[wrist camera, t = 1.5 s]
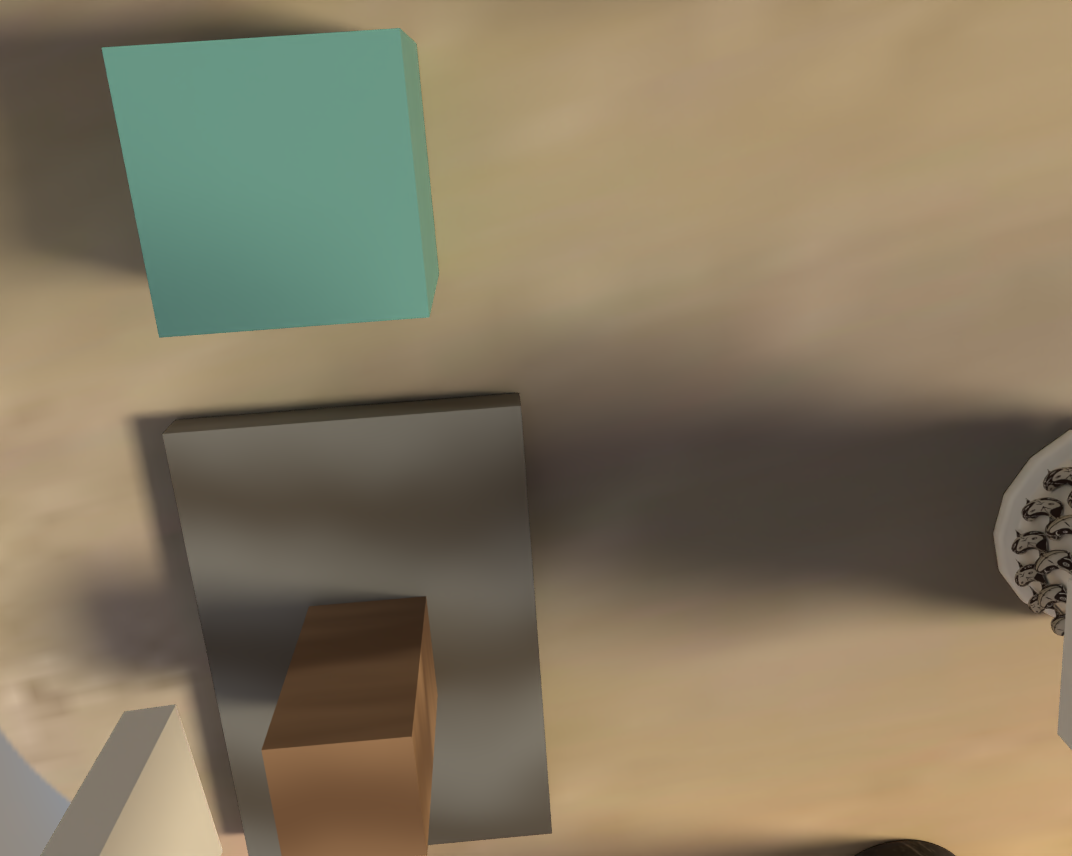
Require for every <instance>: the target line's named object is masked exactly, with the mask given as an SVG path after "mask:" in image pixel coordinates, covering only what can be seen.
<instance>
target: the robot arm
mask: <svg viewBox="0 0 1072 856" xmlns="http://www.w3.org/2000/svg"><path fill="white" fill-rule="evenodd" d="M1058 735H1059V736H1060V737H1061V738H1062V740H1063V741H1064V742H1065V743H1066V744H1067V745H1068V747H1069V748H1070V749H1071V750H1072V578H1069V579H1068V586H1067V600H1066V615H1065V630H1064V645H1063V660H1062V674H1061V689H1060V704H1059V719H1058ZM222 851H223V850H222V847H221V844H220V841H219V837H218V834H217V831H216V828H215V825H214V822H213V819H212V816H211V812H210V809H209V806H208V803H207V800H206V797H205V794H204V791H203V787H202V784H201V781H200V778H199V775H198V772H197V769H196V765H195V762H194V759H193V756H192V753H191V750H190V747H189V744H188V740H187V737H186V734H185V731H184V728H183V725H182V722H181V719H180V715H179V712H178V709H177V706H176V704H175V705H168V706H161V707H154V708H147V709H140V710H133V711H125V712H124V713H123V715H122V716H121V718H120V720H119V721H118V723H117V725H116V727H115V728H114V730H113V732H112V733H111V735H110V737H109V739H108V740H107V742H106V744H105V746H104V747H103V749H102V751H101V752H100V754H99V756H98V758H97V759H96V761H95V763H94V764H93V766H92V768H91V770H90V771H89V773H88V775H87V776H86V778H85V780H84V782H83V783H82V785H81V787H80V788H79V790H78V792H77V794H76V795H75V797H74V799H73V800H72V802H71V804H70V806H69V808H68V809H67V811H66V812H65V814H64V816H63V818H62V819H61V821H60V823H59V825H58V826H57V828H56V830H55V831H54V833H53V835H52V837H51V838H50V840H49V842H48V844H47V845H46V847H45V849H44V850H43V852H42V854H41V855H40V856H221V854H222Z"/></svg>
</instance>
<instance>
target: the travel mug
mask: <svg viewBox="0 0 1072 856" xmlns="http://www.w3.org/2000/svg"><path fill="white" fill-rule="evenodd" d="M855 856H955V855H954V854H953V853H951V852H950V851H948V850H946V849H945V848H943V847H940V846H938V845H935V844H932V843H928V842H922V841H910V840H905V841H894V842H889V843H884V844H881V845H878V846H874V847H872V848H870V849H867V850H865V851H863V852H861V853H859V854H857V855H855Z"/></svg>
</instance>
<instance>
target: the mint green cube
mask: <svg viewBox="0 0 1072 856" xmlns="http://www.w3.org/2000/svg"><path fill="white" fill-rule="evenodd" d="M102 53H103V58H104V63H105V68H106V73H107V78H108V83H109V88H110V93H111V98H112V103H113V108H114V113H115V118H116V123H117V128H118V133H119V138H120V143H121V148H122V153H123V158H124V163H125V168H126V173H127V178H128V183H129V188H130V193H131V198H132V203H133V208H134V213H135V218H136V223H137V228H138V233H139V238H140V244H141V249H142V254H143V259H144V264H145V269H146V274H147V279H148V284H149V289H150V294H151V299H152V304H153V309H154V314H155V319H156V324H157V329H158V334H159V338H160V337H173V336H187V335H200V334H213V333H226V332H240V331H253V330H266V329H280V328H293V327H306V326H319V325H333V324H346V323H359V322H372V321H386V320H399V319H412V318H426V317H430V312H431V307H432V303H433V298H434V294H435V289H436V285H437V280H438V276H439V269H438V259H437V249H436V239H435V228H434V218H433V208H432V198H431V187H430V177H429V167H428V157H427V146H426V136H425V126H424V116H423V105H422V95H421V85H420V75H419V65H418V54H417V44H416V43H415V42H414V41H413V40H412V39H411V38H410V37H409V36H408V35H407V34H405V33H404V32H403V31H402V30H401V29H400V28H395V29H380V30H364V31H349V32H334V33H318V34H303V35H287V36H272V37H257V38H241V39H226V40H210V41H195V42H179V43H164V44H149V45H133V46H118V47H102Z"/></svg>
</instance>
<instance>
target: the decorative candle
mask: <svg viewBox="0 0 1072 856" xmlns="http://www.w3.org/2000/svg"><path fill="white" fill-rule="evenodd" d="M993 537H994V544H995V550H996V557H997V563H998V569H999V571H1000V573H1001V574H1002V575H1003V577H1004V578H1005V579H1006V581H1007V582H1008V584H1009V585H1010V586H1011V588H1012V589H1013V590H1014V592H1015V593H1016V594H1017V596H1018V597H1019V598H1020V599H1021V600H1022V601H1023V602H1024V603H1026V604H1028V606H1029V608H1030V610H1031V611H1032V612H1034V613H1041V612H1044V613H1046V614H1048V615H1050V616H1052V617H1054V619H1052V621H1051V628H1052V630H1053V631H1054V633H1056V634H1057V635H1060V636H1064V630H1065V615H1066V600H1067V586H1068V579H1069V578H1072V430H1069V431H1067V432H1066V433H1064V434H1063V435H1061V436H1060V437H1059V438H1057V439H1056V440H1054V441H1053V442H1052V443H1050V444H1049V445H1047V446H1046V447H1045V448H1043V449H1042V450H1040V451H1039V452H1038V453H1036V454H1035V455H1033V456H1032V457H1031V458H1030V459H1029V460H1028V461H1027V463H1026V464H1025V466H1024V467H1023V468H1022V470H1021V471H1020V472H1019V474H1018V475H1017V477H1016V478H1015V479H1014V481H1013V482H1012V484H1011V485H1010V486H1009V488H1008V489H1007V490H1006V492H1005V493H1004V495H1003V499H1002V503H1001V506H1000V510H999V513H998V517H997V521H996V524H995V528H994V532H993Z"/></svg>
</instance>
